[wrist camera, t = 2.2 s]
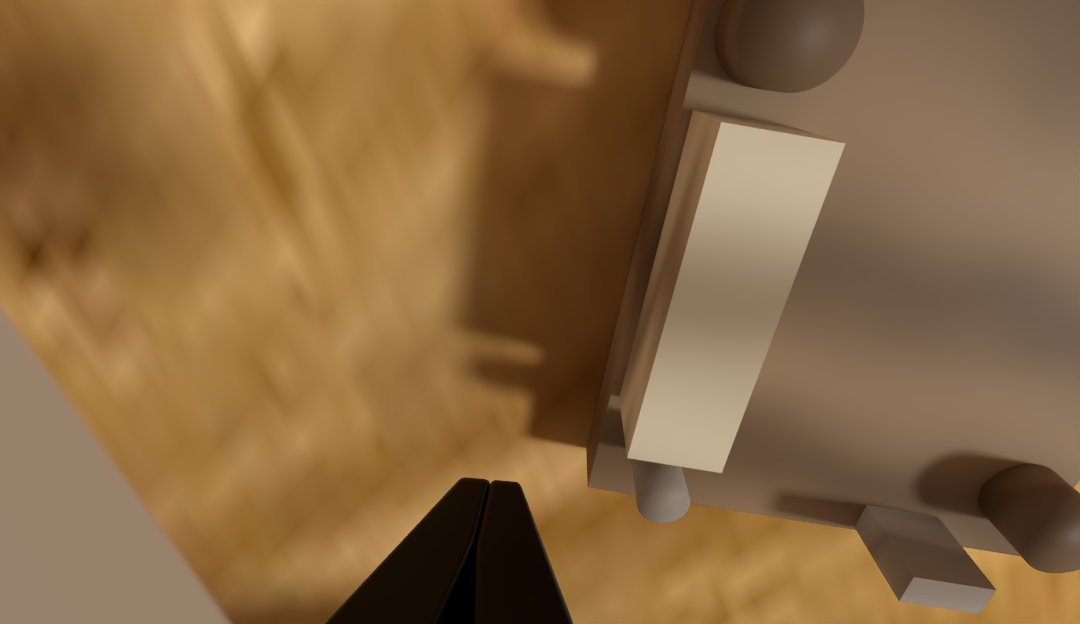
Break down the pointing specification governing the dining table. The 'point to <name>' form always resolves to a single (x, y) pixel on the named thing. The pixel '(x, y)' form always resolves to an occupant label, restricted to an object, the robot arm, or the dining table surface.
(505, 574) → the robot arm
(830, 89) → the upturned stool seat
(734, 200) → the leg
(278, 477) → the dining table surface
